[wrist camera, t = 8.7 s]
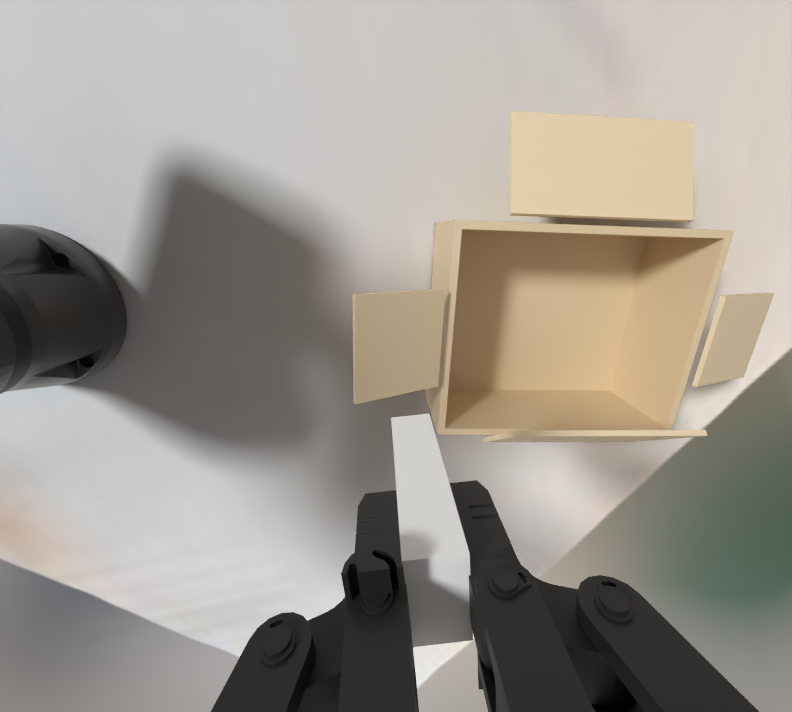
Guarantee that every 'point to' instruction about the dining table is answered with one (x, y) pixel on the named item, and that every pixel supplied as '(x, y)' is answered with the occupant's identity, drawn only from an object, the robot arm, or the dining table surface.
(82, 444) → the dining table surface
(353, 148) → the dining table surface
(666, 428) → the carton
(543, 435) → the flap
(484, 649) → the robot arm
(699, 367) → the flap
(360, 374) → the flap
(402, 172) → the dining table surface
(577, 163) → the flap
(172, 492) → the dining table surface
